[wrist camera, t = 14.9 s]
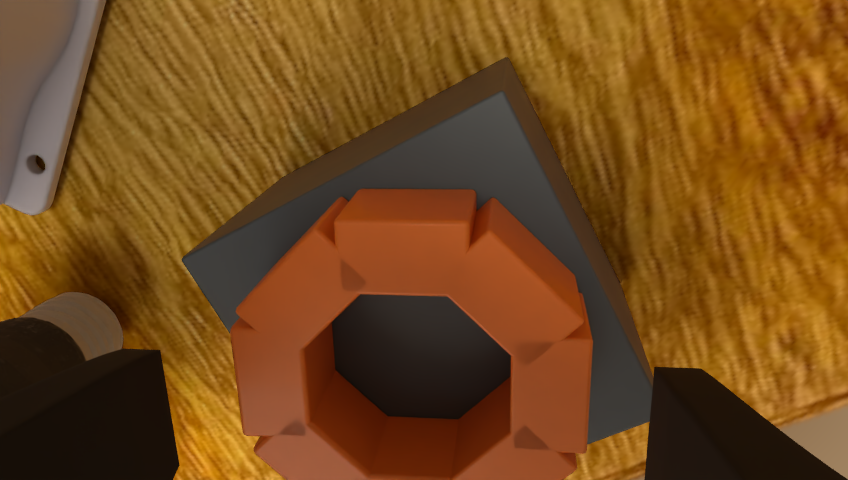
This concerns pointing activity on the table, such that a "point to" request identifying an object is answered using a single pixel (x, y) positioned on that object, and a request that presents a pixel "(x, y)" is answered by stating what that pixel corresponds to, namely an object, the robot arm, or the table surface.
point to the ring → (415, 276)
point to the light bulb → (55, 339)
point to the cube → (438, 315)
